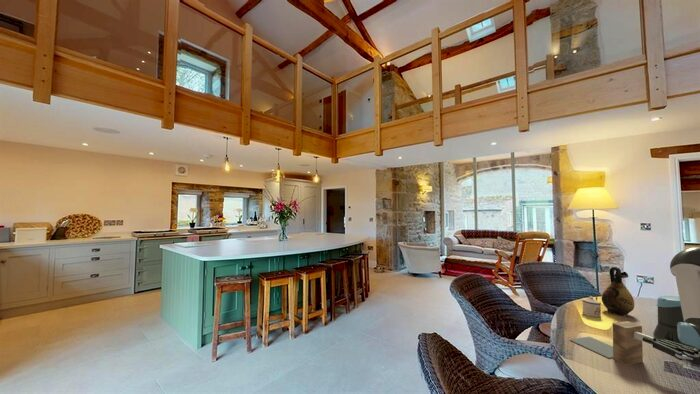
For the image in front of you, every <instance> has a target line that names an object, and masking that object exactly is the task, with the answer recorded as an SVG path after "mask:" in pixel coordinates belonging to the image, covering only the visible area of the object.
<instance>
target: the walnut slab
mask: <svg viewBox="0 0 700 394" xmlns="http://www.w3.org/2000/svg"><path fill="white" fill-rule="evenodd" d="M634 332H639V333H642V334H643V326H642V325H640V324H637V323H634V322H632V321H629V320H628V321H626V320H625V321H621V322H619V321H618V322H612V346H613V358H612V359H613V360H615V361H617V362H619V363H621V364H624V365H626V366H630V365H634V364H641V363H643V362H644V361H643V360H644V359H643V357H644V353H643V350H644V349H643V341H641V340H638V339H635V338H634ZM640 362H641V363H640Z"/></svg>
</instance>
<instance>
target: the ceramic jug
mask: <svg viewBox="0 0 700 394" xmlns="http://www.w3.org/2000/svg"><path fill="white" fill-rule="evenodd" d="M625 278H629V274H628V273H627V272H626V271H621V269H620V268H619V267H617V266H612V267H610V268H609V279H610V284H609V285H608V286H607V287H606V288H605V289H604V290H603V292H602V295H601V302H602V305H604V307H605V308H606V309H607V312H608V313H609V314H611V315H616V316H620V317H626V316H628V314H629V313H630V314H631V312H632V311H634V309H635V300H634V297H633V295H632V294H631V292H630V291H629V289H628V288H627V286H626V285H625V284H624V282H623V281H622V279H625Z"/></svg>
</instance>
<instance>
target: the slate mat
mask: <svg viewBox="0 0 700 394" xmlns="http://www.w3.org/2000/svg"><path fill="white" fill-rule="evenodd" d="M570 340H571V341H570ZM569 341H570V342H572V341H573V342H572V343H574V344H576V345H579V346H581V347H582V348H585V349H587V350H589V351H592V352H594V353H596V354H598V355H600V356H602V357H605V358H606V359H613V345H610V344H608V343H606V342H603V341H601V340H598V339H596V338H593V337H591V336H586V337H578V338H577V337H576V338H571V339H569Z"/></svg>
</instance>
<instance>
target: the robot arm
mask: <svg viewBox="0 0 700 394" xmlns="http://www.w3.org/2000/svg"><path fill="white" fill-rule="evenodd" d="M669 269H670V273H671V274H672V276H674V277H675V282H676V287H677V292H678V295H662V296H661V295H660V296H658V297H657V300H656V301H657V302H656V303H657V304H656V306H657V324H656V327H655V329H654V330H653V333H652V335H653V336H651V335H647V334H645V333H643V332H642V333H639V332H634V338H635V339H638V340H641V341H642V343H643V342H644V343H647V344H649V345H651V346H652V348H654V349H656V350H658V351H660V352H662V353H665V354H667V355H669V356H671V357H673V358H675V359H677V360H678V361H683V359H684V360H686V361H688V362H690V363H693V364H694V363H695V364H697V365H699V366H700V246H695V247H689V248H686V249H683V250H681V251H679V252H678V253H677V254H675V255H674V256H672V258H671V260H670V263H669Z"/></svg>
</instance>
